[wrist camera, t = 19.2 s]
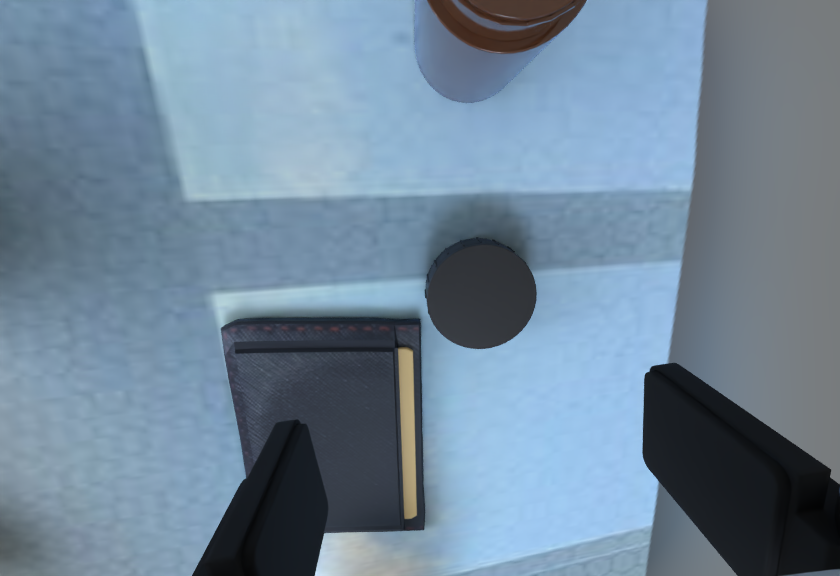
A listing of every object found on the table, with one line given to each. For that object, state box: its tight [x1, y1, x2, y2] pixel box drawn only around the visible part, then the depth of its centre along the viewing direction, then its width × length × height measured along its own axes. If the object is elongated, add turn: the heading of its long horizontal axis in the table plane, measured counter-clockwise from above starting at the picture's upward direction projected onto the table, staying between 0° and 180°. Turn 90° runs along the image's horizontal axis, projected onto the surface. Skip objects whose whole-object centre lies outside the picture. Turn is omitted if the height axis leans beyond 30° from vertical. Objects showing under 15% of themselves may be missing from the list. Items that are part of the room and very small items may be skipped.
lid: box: [425, 237, 537, 349], centre depth 27 cm, size 7×7×3 cm
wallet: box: [221, 318, 425, 533], centre depth 31 cm, size 20×2×15 cm
